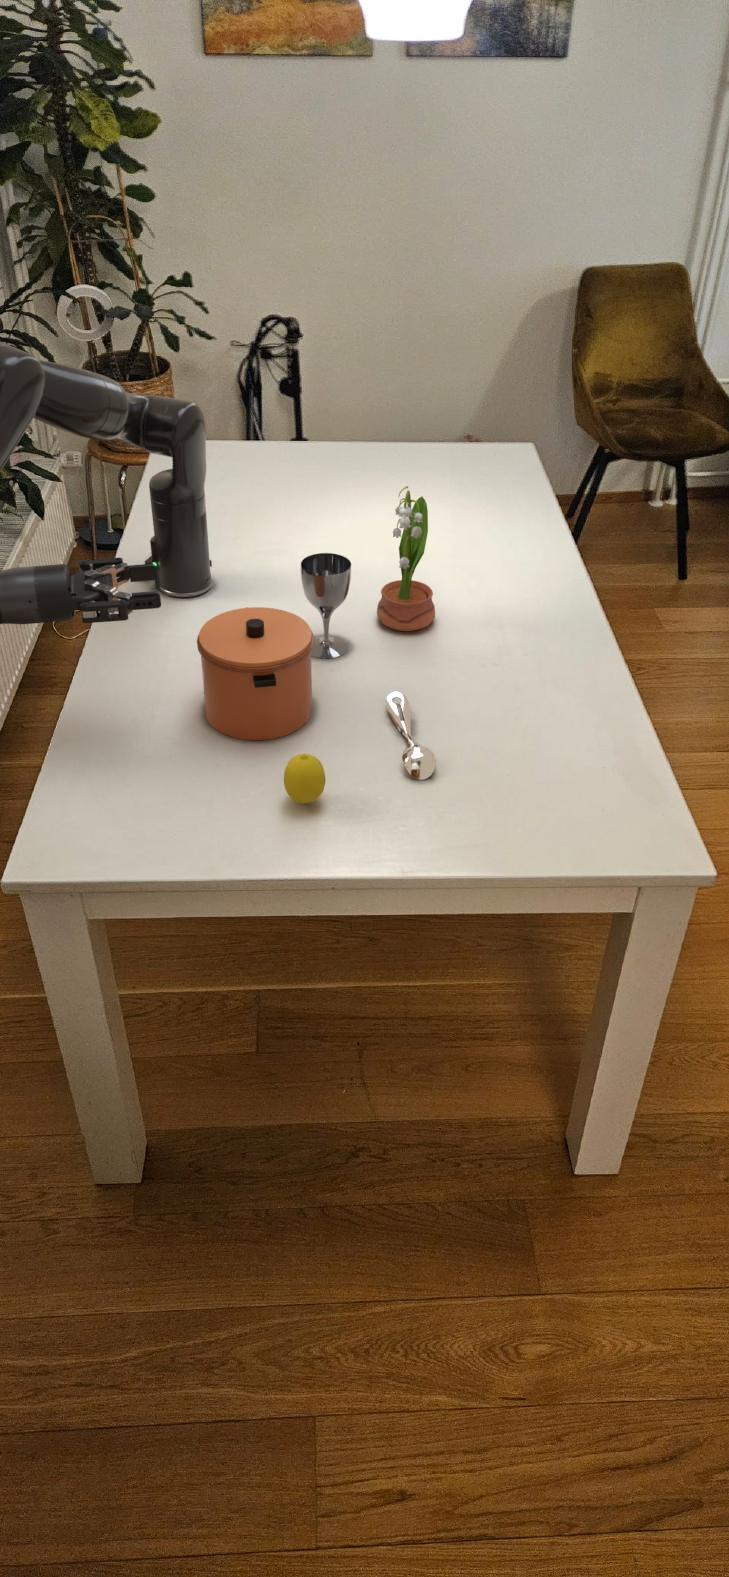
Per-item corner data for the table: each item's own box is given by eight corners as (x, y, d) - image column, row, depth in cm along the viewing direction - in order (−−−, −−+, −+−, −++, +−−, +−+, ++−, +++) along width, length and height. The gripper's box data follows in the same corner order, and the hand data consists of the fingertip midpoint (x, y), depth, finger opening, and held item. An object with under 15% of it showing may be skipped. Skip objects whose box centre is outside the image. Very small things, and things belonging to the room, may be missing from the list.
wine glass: (356, 640, 183) (358, 557, 174) (340, 663, 177) (341, 579, 168) (312, 632, 185) (311, 549, 176) (294, 654, 179) (292, 570, 170)
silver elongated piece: (380, 682, 165) (411, 679, 166) (379, 701, 168) (409, 698, 168) (406, 766, 151) (440, 763, 151) (405, 786, 153) (438, 783, 154)
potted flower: (428, 644, 182) (437, 501, 167) (369, 637, 184) (372, 495, 169) (438, 611, 192) (448, 472, 176) (382, 604, 193) (386, 466, 178)
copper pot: (209, 752, 157) (202, 662, 148) (197, 682, 172) (189, 597, 163) (325, 739, 160) (324, 650, 151) (303, 672, 175) (301, 587, 166)
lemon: (283, 791, 150) (282, 743, 145) (324, 789, 150) (324, 742, 146) (285, 816, 146) (283, 768, 141) (326, 814, 146) (326, 766, 141)
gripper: (30, 594, 139) (159, 583, 142) (32, 546, 150) (152, 537, 153) (39, 645, 144) (164, 634, 147) (41, 595, 155) (157, 586, 158)
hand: (158, 585), depth 150 cm, fingers open, 8 cm apart
